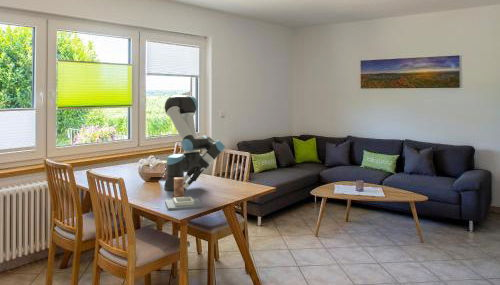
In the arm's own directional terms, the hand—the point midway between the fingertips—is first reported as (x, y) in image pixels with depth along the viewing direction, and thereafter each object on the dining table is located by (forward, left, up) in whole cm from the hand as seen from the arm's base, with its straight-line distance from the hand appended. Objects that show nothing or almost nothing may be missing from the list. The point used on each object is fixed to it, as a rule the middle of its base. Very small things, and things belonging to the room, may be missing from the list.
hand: (182, 185), depth 256 cm
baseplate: (+8, -16, -7) cm, 19 cm away
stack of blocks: (-39, +49, -8) cm, 63 cm away
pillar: (-3, 0, -8) cm, 8 cm away
